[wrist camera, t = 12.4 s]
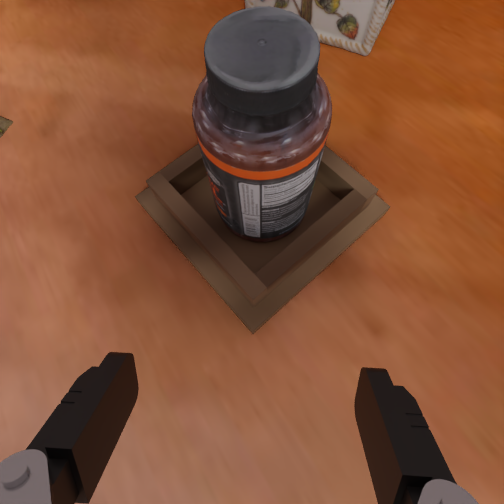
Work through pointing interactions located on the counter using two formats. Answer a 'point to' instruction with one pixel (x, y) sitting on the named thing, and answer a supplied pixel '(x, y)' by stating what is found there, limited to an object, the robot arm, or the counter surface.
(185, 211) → the walnut tray
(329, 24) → the decorative jar
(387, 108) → the counter surface
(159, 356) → the counter surface
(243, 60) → the supplement bottle
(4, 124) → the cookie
